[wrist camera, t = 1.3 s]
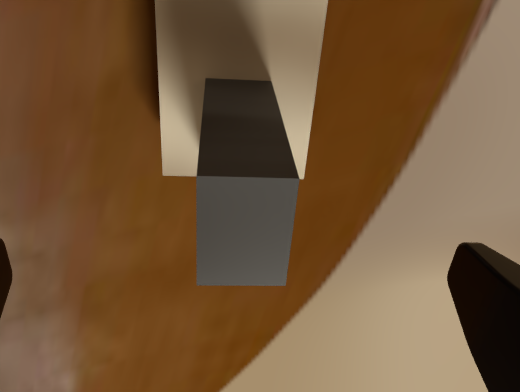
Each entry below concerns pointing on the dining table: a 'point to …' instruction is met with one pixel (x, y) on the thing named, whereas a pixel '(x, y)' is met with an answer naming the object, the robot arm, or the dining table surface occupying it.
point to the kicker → (239, 124)
